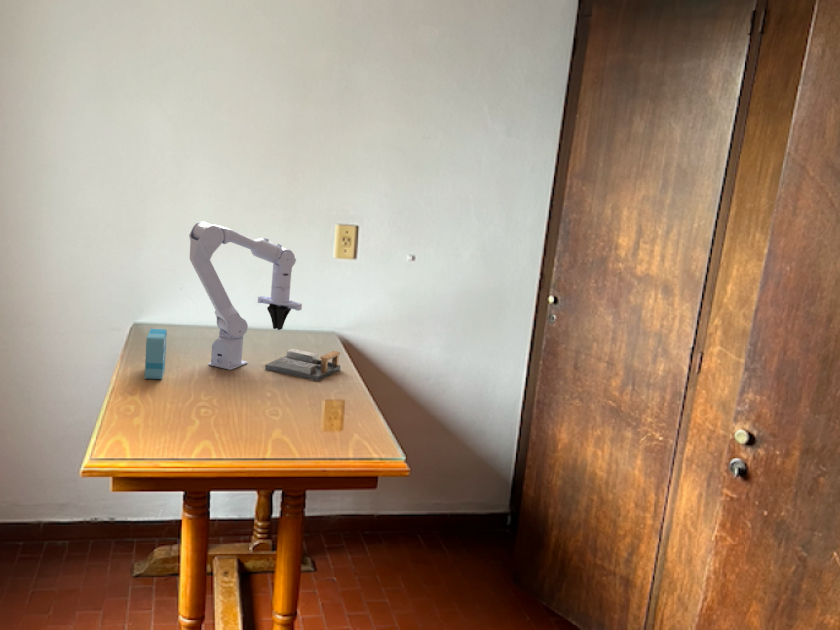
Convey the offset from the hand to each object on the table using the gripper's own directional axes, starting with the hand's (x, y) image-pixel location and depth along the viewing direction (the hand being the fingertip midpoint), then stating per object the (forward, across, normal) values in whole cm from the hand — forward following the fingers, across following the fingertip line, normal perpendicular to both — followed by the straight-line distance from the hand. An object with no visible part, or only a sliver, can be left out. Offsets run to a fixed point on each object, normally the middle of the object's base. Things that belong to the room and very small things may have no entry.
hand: (277, 328), depth 245 cm
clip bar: (+9, -9, 0) cm, 13 cm away
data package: (+10, +19, +35) cm, 41 cm away
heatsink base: (+10, -11, +3) cm, 16 cm away
